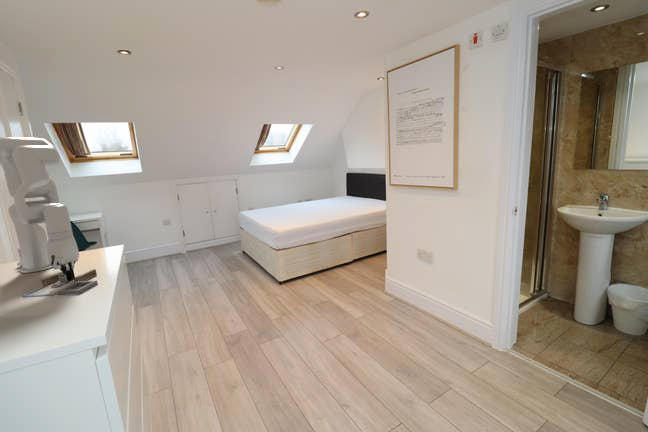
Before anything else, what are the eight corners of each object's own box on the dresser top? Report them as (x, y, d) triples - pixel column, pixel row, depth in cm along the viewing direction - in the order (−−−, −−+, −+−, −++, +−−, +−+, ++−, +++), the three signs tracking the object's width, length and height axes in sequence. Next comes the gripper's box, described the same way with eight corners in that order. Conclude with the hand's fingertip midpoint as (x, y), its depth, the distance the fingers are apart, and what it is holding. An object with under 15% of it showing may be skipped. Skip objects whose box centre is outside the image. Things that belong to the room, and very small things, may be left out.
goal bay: (19, 297, 109) (19, 296, 109) (42, 286, 118) (42, 286, 118) (52, 295, 109) (52, 294, 109) (73, 285, 118) (73, 284, 118)
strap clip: (57, 288, 116) (55, 277, 115) (50, 288, 116) (47, 277, 115) (76, 279, 124) (74, 269, 124) (70, 279, 125) (68, 270, 124)
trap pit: (57, 295, 109) (56, 291, 109) (77, 285, 118) (76, 281, 117) (79, 294, 109) (78, 290, 109) (97, 284, 118) (97, 280, 117)
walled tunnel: (42, 285, 119) (41, 279, 118) (64, 276, 128) (62, 270, 128) (78, 284, 119) (76, 278, 118) (96, 274, 128) (95, 269, 128)
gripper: (66, 231, 127) (74, 273, 130) (33, 240, 112) (44, 287, 115) (84, 230, 127) (92, 272, 130) (53, 239, 112) (63, 285, 116)
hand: (69, 278), depth 123 cm, fingers closed
